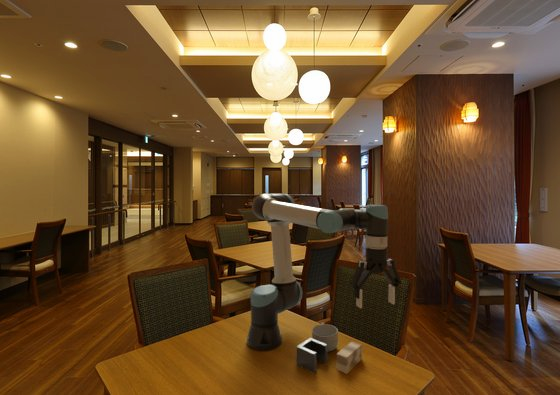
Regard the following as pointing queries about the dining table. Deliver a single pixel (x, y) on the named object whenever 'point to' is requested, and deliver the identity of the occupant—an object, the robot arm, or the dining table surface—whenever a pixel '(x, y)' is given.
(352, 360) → the beige marbled block
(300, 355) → the end cap
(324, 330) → the teacup
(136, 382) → the dining table surface
